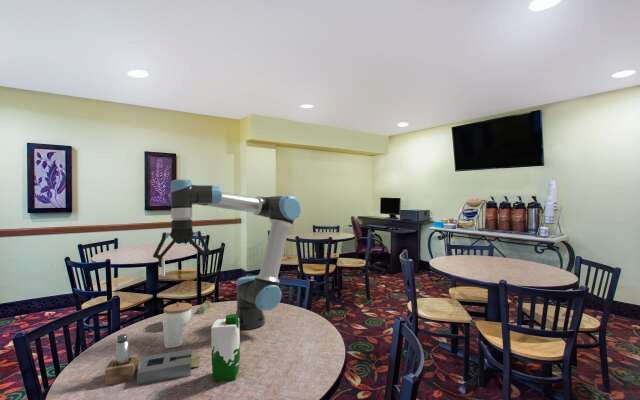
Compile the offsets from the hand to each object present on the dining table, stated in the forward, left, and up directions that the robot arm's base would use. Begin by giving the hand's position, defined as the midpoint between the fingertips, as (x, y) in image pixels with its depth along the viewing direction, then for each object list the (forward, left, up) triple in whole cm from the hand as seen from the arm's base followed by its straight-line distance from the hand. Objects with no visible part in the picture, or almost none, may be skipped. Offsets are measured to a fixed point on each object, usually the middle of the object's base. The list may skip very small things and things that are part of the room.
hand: (182, 274), depth 123 cm
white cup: (+5, -13, -32) cm, 35 cm away
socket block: (+6, +10, -32) cm, 34 cm away
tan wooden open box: (+19, +8, -32) cm, 38 cm away
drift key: (-2, +10, -32) cm, 33 cm away
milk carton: (-15, +21, -32) cm, 41 cm away
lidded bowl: (+5, -36, -32) cm, 48 cm away
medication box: (-7, -53, -32) cm, 63 cm away
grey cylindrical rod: (+19, +8, -32) cm, 38 cm away
